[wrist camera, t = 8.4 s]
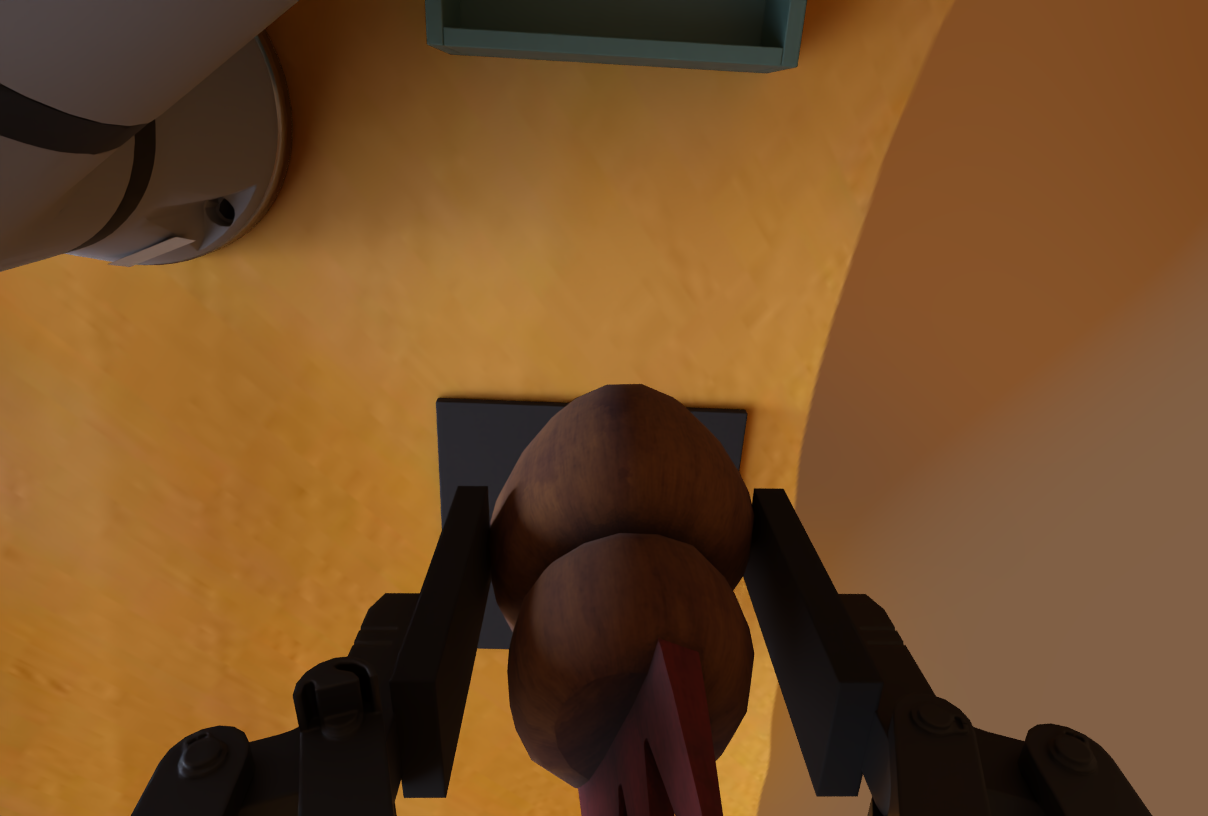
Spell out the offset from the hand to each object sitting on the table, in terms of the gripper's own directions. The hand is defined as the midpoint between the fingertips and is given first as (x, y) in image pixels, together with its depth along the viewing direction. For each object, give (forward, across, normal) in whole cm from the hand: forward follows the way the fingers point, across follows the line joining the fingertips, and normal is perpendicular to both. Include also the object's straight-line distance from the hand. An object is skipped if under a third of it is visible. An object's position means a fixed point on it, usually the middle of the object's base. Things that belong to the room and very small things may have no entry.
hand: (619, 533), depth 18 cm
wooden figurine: (+5, 0, 0) cm, 5 cm away
